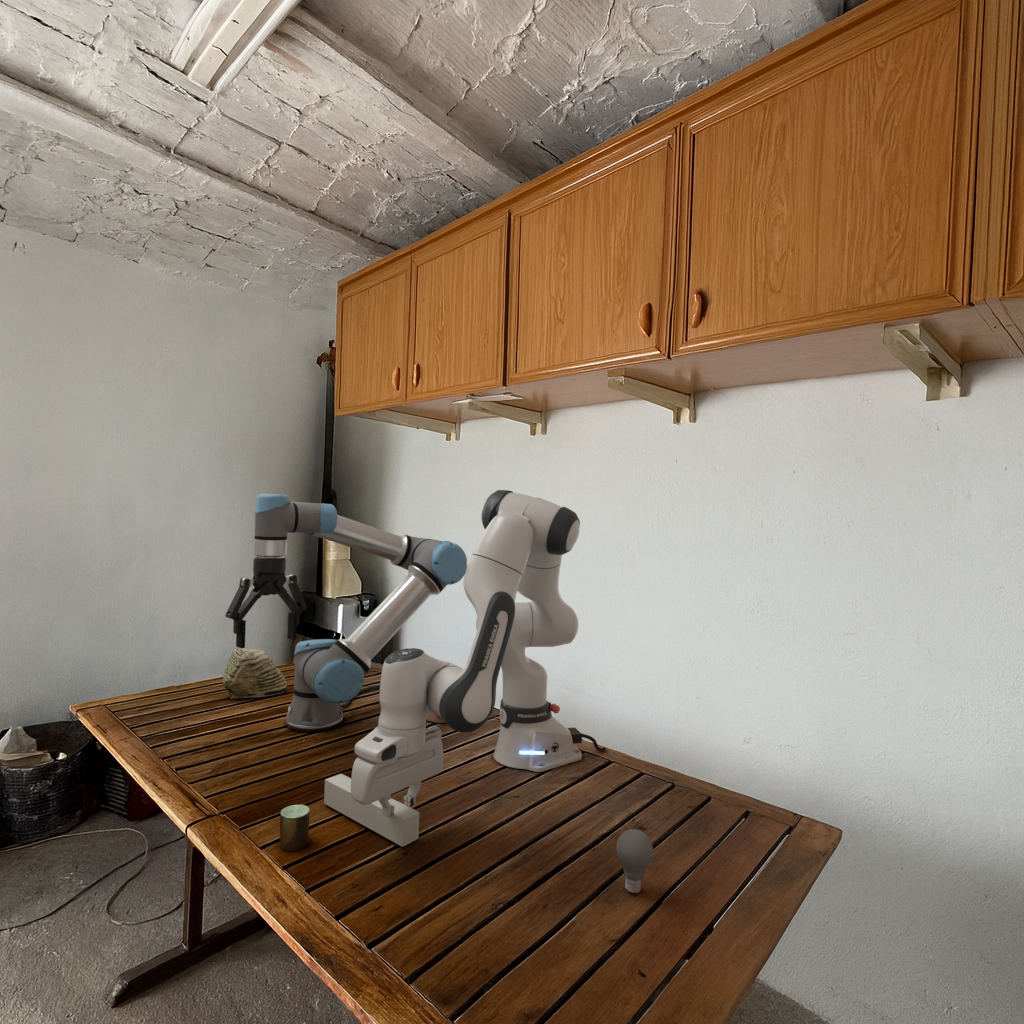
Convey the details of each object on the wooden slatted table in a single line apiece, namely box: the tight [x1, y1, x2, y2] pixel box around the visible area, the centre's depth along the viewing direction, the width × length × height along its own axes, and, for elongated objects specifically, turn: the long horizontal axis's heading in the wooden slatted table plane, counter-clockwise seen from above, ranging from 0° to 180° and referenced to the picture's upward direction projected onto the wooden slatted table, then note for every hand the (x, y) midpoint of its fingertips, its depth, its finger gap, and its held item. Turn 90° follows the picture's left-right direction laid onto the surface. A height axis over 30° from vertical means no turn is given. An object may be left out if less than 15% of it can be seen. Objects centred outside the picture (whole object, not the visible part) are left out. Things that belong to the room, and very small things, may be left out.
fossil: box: [222, 646, 288, 699], centre depth 198 cm, size 9×18×15 cm, turn 132°
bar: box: [323, 773, 421, 847], centre depth 124 cm, size 4×24×5 cm, turn 52°
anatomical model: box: [426, 713, 447, 724], centre depth 185 cm, size 13×4×12 cm
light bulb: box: [615, 828, 654, 894], centre depth 106 cm, size 6×6×10 cm
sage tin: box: [278, 804, 310, 852], centre depth 116 cm, size 5×5×6 cm
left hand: (266, 643), depth 155 cm, fingers open, 13 cm apart
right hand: (398, 810), depth 119 cm, fingers closed on bar, 4 cm apart
